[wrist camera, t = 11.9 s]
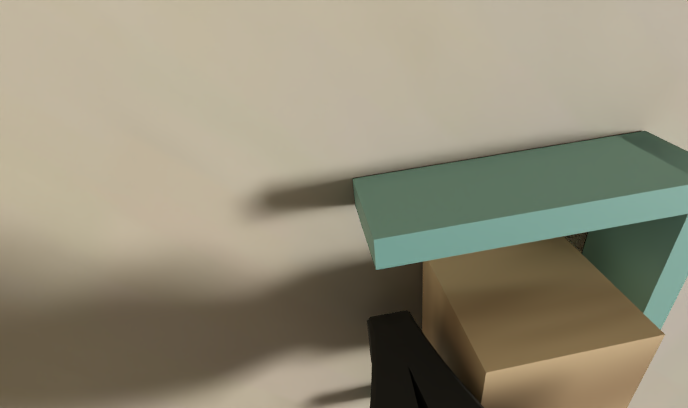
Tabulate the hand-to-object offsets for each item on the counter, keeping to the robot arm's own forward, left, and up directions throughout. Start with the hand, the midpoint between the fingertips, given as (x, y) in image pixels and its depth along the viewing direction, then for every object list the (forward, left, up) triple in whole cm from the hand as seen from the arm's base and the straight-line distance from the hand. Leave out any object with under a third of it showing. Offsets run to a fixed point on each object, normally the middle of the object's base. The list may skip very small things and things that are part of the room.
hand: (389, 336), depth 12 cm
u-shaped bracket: (0, -3, -1) cm, 3 cm away
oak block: (0, -3, -1) cm, 3 cm away
